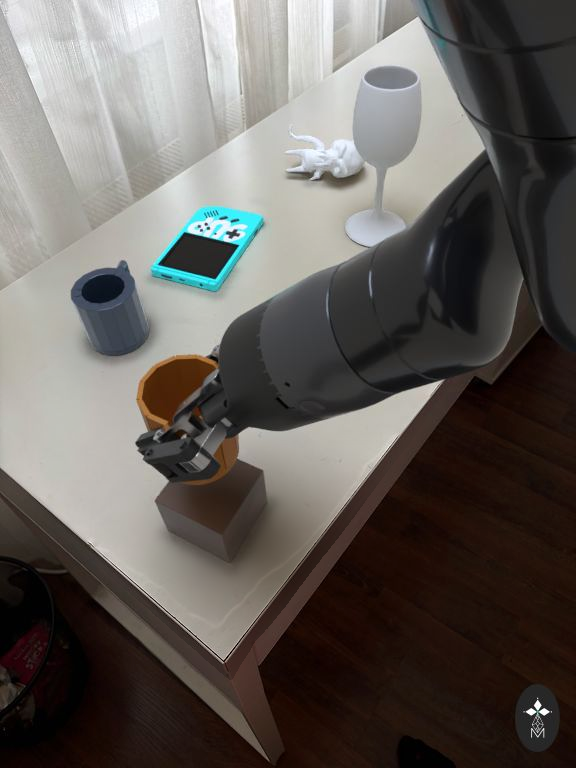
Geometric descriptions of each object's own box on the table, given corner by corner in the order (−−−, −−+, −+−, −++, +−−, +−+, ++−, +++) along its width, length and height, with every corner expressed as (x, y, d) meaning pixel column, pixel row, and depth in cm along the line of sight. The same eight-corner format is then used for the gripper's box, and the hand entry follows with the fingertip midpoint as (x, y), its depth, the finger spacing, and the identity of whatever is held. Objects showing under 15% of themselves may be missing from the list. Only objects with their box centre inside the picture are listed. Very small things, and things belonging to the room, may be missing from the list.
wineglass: (410, 215, 86) (434, 63, 69) (401, 252, 81) (423, 98, 64) (352, 207, 87) (361, 57, 71) (339, 243, 82) (345, 90, 66)
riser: (229, 563, 54) (221, 535, 49) (167, 530, 56) (154, 500, 51) (267, 501, 58) (263, 470, 53) (207, 473, 60) (198, 440, 55)
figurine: (278, 123, 88) (355, 116, 84) (301, 127, 96) (373, 122, 91) (280, 181, 91) (355, 178, 86) (303, 181, 99) (372, 178, 94)
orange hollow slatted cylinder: (211, 498, 45) (195, 439, 39) (143, 465, 47) (118, 404, 41) (253, 436, 48) (245, 373, 42) (189, 407, 50) (172, 343, 44)
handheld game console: (265, 222, 86) (265, 214, 85) (217, 293, 77) (216, 285, 76) (204, 209, 88) (203, 201, 87) (150, 275, 79) (148, 268, 78)
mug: (139, 358, 70) (123, 313, 64) (81, 353, 71) (60, 307, 65) (162, 300, 76) (150, 253, 70) (109, 295, 77) (92, 249, 71)
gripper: (321, 224, 35) (182, 316, 47) (206, 403, 27) (75, 457, 39) (397, 312, 38) (247, 377, 50) (314, 499, 30) (159, 521, 42)
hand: (172, 412), depth 45 cm, fingers closed on orange hollow slatted cylinder, 6 cm apart
